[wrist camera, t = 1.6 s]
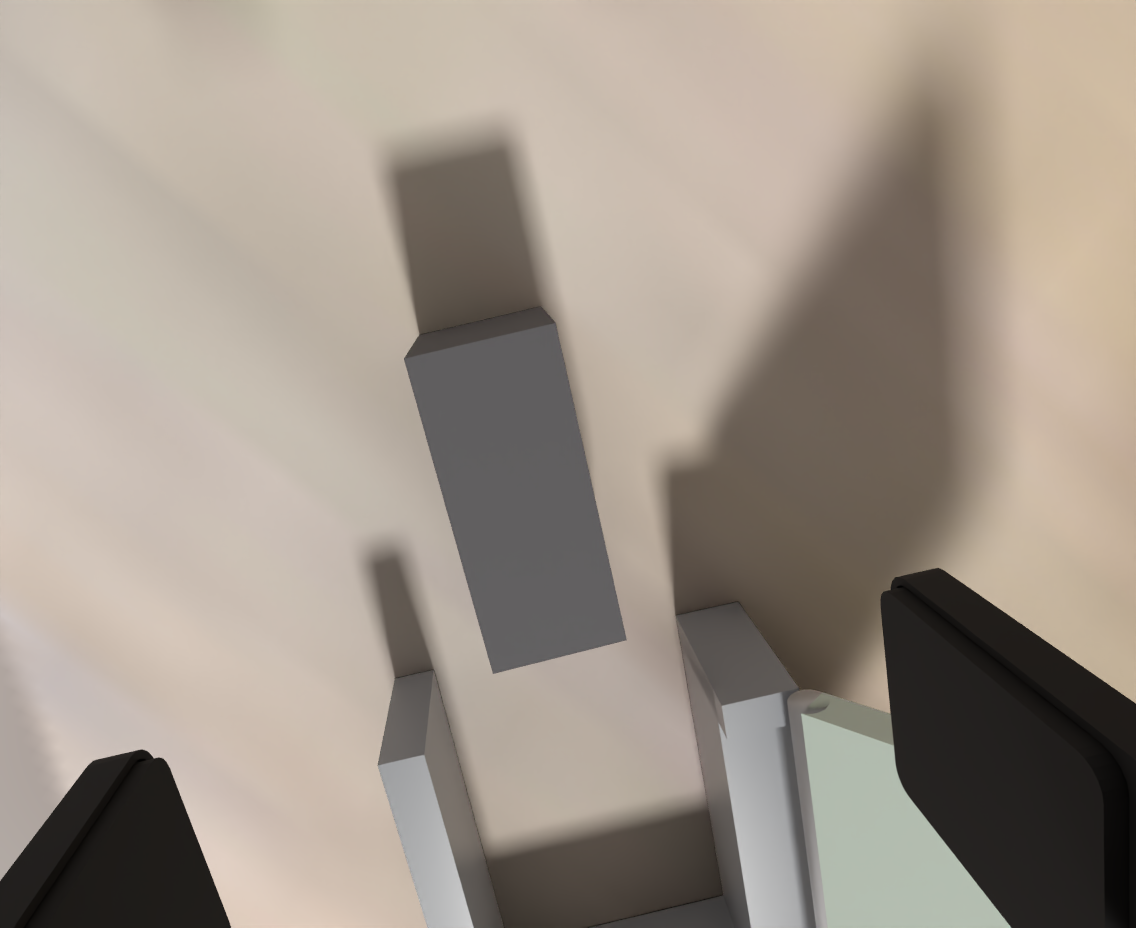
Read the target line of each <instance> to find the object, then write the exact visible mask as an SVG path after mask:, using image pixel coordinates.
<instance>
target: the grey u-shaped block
mask: <svg viewBox="0 0 1136 928" xmlns="http://www.w3.org/2000/svg"><path fill="white" fill-rule="evenodd" d="M676 620H677V626H678V632H679V638H680V644H681V649H682V655H683V661H684V667H685V673H686V679H687V685H688V691H689V697H690V703H691V709H692V714H693V720H694V726H695V732H696V738H697V744H698V750H699V756H700V762H701V768H702V773H703V779H704V785H705V791H706V797H707V803H708V809H709V815H710V821H711V827H712V832H713V838H714V844H715V850H716V856H717V862H718V868H719V874H720V880H721V886H722V891H723V896H719V897H715V898H711V899H707V900H703V901H699V902H694V903H690V904H686V905H682V906H678V907H674V908H669V909H665V910H661V911H657V912H653V913H649V914H645V915H640V916H636V917H632V918H628V919H624V920H620V921H615V922H611V923H607V924H603V925H599V926H595V927H591V928H816V921H815V914H814V906H813V898H812V890H811V883H810V875H809V867H808V859H807V852H806V844H805V836H804V829H803V821H802V813H801V805H800V798H799V790H798V782H797V774H796V767H795V759H794V751H793V743H792V736H791V728H790V720H789V713H788V705H787V700H788V697H789V696H790V695H791V694H793V693H794V692H797V691H799V687H798V686H797V685H796V683H795V682H794V680H793V679H792V677H791V676H790V675H789V673H788V672H787V670H786V669H785V667H784V666H783V665H782V663H781V662H780V660H779V659H778V657H777V656H776V655H775V653H774V652H773V650H772V649H771V647H770V646H769V645H768V643H767V642H766V640H765V639H764V637H763V636H762V635H761V633H760V632H759V630H758V629H757V628H756V626H755V625H754V623H753V622H752V620H751V619H750V618H749V616H748V615H747V613H746V612H745V610H744V609H743V608H742V606H741V605H740V603H739V602H734V603H730V604H725V605H721V606H717V607H712V608H708V609H703V610H699V611H694V612H690V613H685V614H681V615H676ZM378 768H379V771H380V775H381V778H382V781H383V784H384V788H385V791H386V794H387V797H388V801H389V804H390V807H391V810H392V814H393V817H394V820H395V823H396V827H397V830H398V833H399V836H400V840H401V843H402V846H403V849H404V853H405V856H406V859H407V862H408V866H409V869H410V872H411V875H412V879H413V882H414V885H415V889H416V892H417V895H418V898H419V902H420V905H421V908H422V911H423V915H424V918H425V921H426V924H427V928H504V926H503V922H502V919H501V915H500V911H499V908H498V904H497V900H496V897H495V893H494V889H493V886H492V882H491V878H490V875H489V871H488V867H487V863H486V860H485V856H484V852H483V849H482V845H481V841H480V838H479V834H478V830H477V827H476V823H475V819H474V816H473V812H472V808H471V805H470V801H469V797H468V794H467V790H466V786H465V783H464V779H463V775H462V772H461V768H460V764H459V761H458V757H457V753H456V750H455V746H454V742H453V739H452V735H451V731H450V728H449V724H448V720H447V717H446V713H445V709H444V706H443V702H442V698H441V695H440V691H439V687H438V683H437V680H436V676H435V672H434V670H431V671H426V672H422V673H418V674H413V675H409V676H404V677H400V678H395V681H394V686H393V691H392V696H391V701H390V706H389V711H388V716H387V721H386V726H385V731H384V736H383V741H382V746H381V751H380V756H379V761H378Z"/></svg>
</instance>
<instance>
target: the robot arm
mask: <svg viewBox="0 0 1136 928" xmlns="http://www.w3.org/2000/svg"><path fill="white" fill-rule="evenodd" d="M881 615H882V626H883V636H884V647H885V658H886V668H887V679H888V689H889V700H890V711H891V721H892V732H893V743H894V753H895V764H896V770H897V773H898V776H899V779H900V782H901V784H902V786H903V788H904V790H905V792H906V793H907V795H908V796H909V798H910V799H911V800H912V801H913V803H914V804H915V805H916V807H917V808H918V809H919V810H920V812H921V813H922V814H923V815H924V817H925V818H926V819H927V821H928V822H929V823H930V824H931V826H932V827H933V828H934V830H935V831H936V832H937V833H938V835H939V836H940V837H941V838H942V840H943V841H944V842H945V844H946V845H947V846H948V847H949V849H950V850H951V851H952V853H953V854H954V855H955V856H956V858H957V859H958V860H959V862H960V863H961V864H962V865H963V867H964V868H965V869H966V870H967V872H968V873H969V874H970V876H971V877H972V878H973V879H974V881H975V882H976V883H977V885H978V886H979V887H980V888H981V890H982V891H983V892H984V893H985V895H986V896H987V897H988V899H989V900H990V901H991V902H992V904H993V905H994V906H995V908H996V909H997V910H998V911H999V913H1000V914H1001V915H1002V917H1003V918H1004V919H1005V920H1006V922H1007V923H1008V924H1009V925H1010V927H1011V928H1136V703H1134V702H1133V701H1131V700H1130V699H1128V698H1127V697H1126V696H1124V695H1123V694H1121V693H1120V692H1118V691H1117V690H1115V689H1114V688H1113V687H1111V686H1110V685H1108V684H1107V683H1105V682H1104V681H1102V680H1101V679H1100V678H1098V677H1097V676H1095V675H1094V674H1092V673H1091V672H1089V671H1088V670H1087V669H1085V668H1084V667H1082V666H1081V665H1079V664H1078V663H1077V662H1075V661H1074V660H1072V659H1071V658H1069V657H1068V656H1066V655H1065V654H1064V653H1062V652H1061V651H1059V650H1058V649H1056V648H1055V647H1053V646H1052V645H1051V644H1049V643H1048V642H1046V641H1045V640H1043V639H1042V638H1040V637H1039V636H1038V635H1036V634H1035V633H1033V632H1032V631H1030V630H1029V629H1028V628H1026V627H1025V626H1023V625H1022V624H1020V623H1019V622H1017V621H1016V620H1015V619H1013V618H1012V617H1010V616H1009V615H1007V614H1006V613H1004V612H1003V611H1002V610H1000V609H999V608H997V607H996V606H994V605H993V604H992V603H990V602H989V601H987V600H986V599H984V598H983V597H981V596H980V595H979V594H977V593H976V592H974V591H973V590H971V589H970V588H968V587H967V586H966V585H964V584H963V583H961V582H960V581H958V580H957V579H955V578H954V577H953V576H951V575H950V574H948V573H947V572H945V571H944V570H942V569H939V568H935V569H931V570H926V571H922V572H917V573H913V574H909V575H904V576H900V577H895V578H894V580H893V581H892V584H891V590H888V591H884V592H883V593H882V595H881ZM0 928H231V926H230V923H229V920H228V917H227V915H226V912H225V910H224V907H223V904H222V902H221V899H220V897H219V894H218V892H217V889H216V886H215V884H214V881H213V879H212V876H211V873H210V871H209V868H208V866H207V863H206V861H205V858H204V855H203V853H202V850H201V848H200V845H199V843H198V840H197V837H196V835H195V832H194V830H193V827H192V824H191V822H190V819H189V817H188V814H187V812H186V809H185V806H184V804H183V801H182V799H181V796H180V793H179V791H178V788H177V786H176V783H175V781H174V778H173V775H172V773H171V770H170V768H169V766H168V764H167V762H166V761H165V760H164V759H162V758H155V759H154V758H153V757H152V755H151V754H150V753H149V752H148V751H145V750H137V751H133V752H129V753H124V754H120V755H115V756H111V757H107V758H102V759H98V760H95V761H93V762H92V763H90V764H89V765H88V766H87V768H86V769H85V770H84V771H83V773H82V774H81V775H80V777H79V778H78V779H77V781H76V782H75V783H74V785H73V786H72V787H71V789H70V790H69V791H68V793H67V794H66V795H65V796H64V798H63V799H62V800H61V802H60V803H59V804H58V806H57V807H56V808H55V810H54V811H53V812H52V814H51V815H50V816H49V818H48V819H47V820H46V821H45V823H44V824H43V826H42V827H41V828H40V829H39V831H38V832H37V833H36V835H35V836H34V837H33V839H32V840H31V841H30V843H29V844H28V845H27V846H26V848H25V849H24V850H23V852H22V853H21V855H20V856H19V857H18V858H17V860H16V861H15V862H14V864H13V865H12V866H11V868H10V869H9V870H8V872H7V873H6V874H5V876H4V877H3V878H2V879H1V881H0Z"/></svg>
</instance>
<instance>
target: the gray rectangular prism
mask: <svg viewBox="0 0 1136 928" xmlns="http://www.w3.org/2000/svg"><path fill="white" fill-rule="evenodd" d="M404 361H405V364H406V368H407V371H408V375H409V378H410V382H411V385H412V389H413V392H414V396H415V399H416V403H417V407H418V410H419V414H420V417H421V421H422V424H423V428H424V431H425V435H426V438H427V442H428V445H429V449H430V452H431V456H432V460H433V463H434V467H435V470H436V474H437V477H438V481H439V484H440V488H441V491H442V495H443V498H444V502H445V506H446V509H447V513H448V516H449V520H450V523H451V527H452V530H453V534H454V537H455V541H456V544H457V548H458V551H459V555H460V559H461V562H462V566H463V569H464V573H465V576H466V580H467V583H468V587H469V590H470V594H471V597H472V601H473V605H474V608H475V612H476V615H477V619H478V622H479V626H480V629H481V633H482V636H483V640H484V643H485V647H486V650H487V654H488V658H489V661H490V665H491V668H492V672H493V674H494V673H498V672H502V671H506V670H510V669H514V668H518V667H522V666H526V665H530V664H534V663H538V662H542V661H546V660H550V659H554V658H558V657H562V656H566V655H570V654H574V653H577V652H581V651H585V650H589V649H593V648H597V647H601V646H605V645H609V644H613V643H617V642H621V641H625V640H626V635H625V631H624V626H623V622H622V617H621V613H620V608H619V604H618V599H617V595H616V591H615V586H614V582H613V577H612V573H611V568H610V564H609V559H608V555H607V550H606V546H605V542H604V537H603V533H602V528H601V524H600V519H599V515H598V510H597V506H596V501H595V497H594V493H593V488H592V484H591V479H590V475H589V470H588V466H587V461H586V457H585V452H584V448H583V444H582V439H581V435H580V430H579V426H578V421H577V417H576V412H575V408H574V403H573V399H572V394H571V390H570V386H569V381H568V377H567V372H566V368H565V363H564V359H563V354H562V350H561V345H560V341H559V337H558V332H557V328H556V323H555V322H554V321H553V320H552V318H551V317H550V316H549V315H548V314H547V312H546V311H545V310H544V309H543V308H542V307H541V306H540V307H536V308H532V309H528V310H523V311H519V312H515V313H511V314H506V315H502V316H498V317H494V318H489V319H485V320H481V321H477V322H472V323H468V324H464V325H460V326H455V327H451V328H447V329H443V330H438V331H434V332H430V333H426V334H421V335H419V336H418V338H417V339H416V341H415V343H414V344H413V346H412V347H411V349H410V350H409V352H408V353H407V355H406V356H405V358H404Z"/></svg>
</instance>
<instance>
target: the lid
mask: <svg viewBox="0 0 1136 928" xmlns="http://www.w3.org/2000/svg"><path fill="white" fill-rule="evenodd" d="M787 705H788V713H789V720H790V728H791V736H792V743H793V751H794V759H795V767H796V774H797V782H798V790H799V798H800V805H801V813H802V821H803V829H804V836H805V844H806V852H807V859H808V867H809V875H810V883H811V890H812V898H813V906H814V914H815V921H816V928H1011V927H1010V925H1009V924H1008V923H1007V922H1006V920H1005V919H1004V918H1003V917H1002V915H1001V914H1000V913H999V911H998V910H997V909H996V908H995V906H994V905H993V904H992V902H991V901H990V900H989V899H988V897H987V896H986V895H985V893H984V892H983V891H982V890H981V888H980V887H979V886H978V885H977V883H976V882H975V881H974V879H973V878H972V877H971V876H970V874H969V873H968V872H967V870H966V869H965V868H964V867H963V865H962V864H961V863H960V862H959V860H958V859H957V858H956V856H955V855H954V854H953V853H952V851H951V850H950V849H949V847H948V846H947V845H946V844H945V842H944V841H943V840H942V838H941V837H940V836H939V835H938V833H937V832H936V831H935V830H934V828H933V827H932V826H931V824H930V823H929V822H928V821H927V819H926V818H925V817H924V815H923V814H922V813H921V812H920V810H919V809H918V808H917V807H916V805H915V804H914V803H913V801H912V800H911V799H910V798H909V796H908V795H907V793H906V792H905V790H904V788H903V786H902V784H901V782H900V779H899V776H898V773H897V770H896V764H895V753H894V743H893V732H892V721H891V714H889V713H886V712H883V711H880V710H877V709H874V708H871V707H867V706H864V705H861V704H858V703H855V702H852V701H849V700H846V699H842V698H839V697H836V696H833V695H830V694H827V693H824V692H820V691H817V690H810V689H807V690H800V691H797V692H794V693H793V694H791V695H790V696H789V697H788V700H787Z"/></svg>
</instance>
